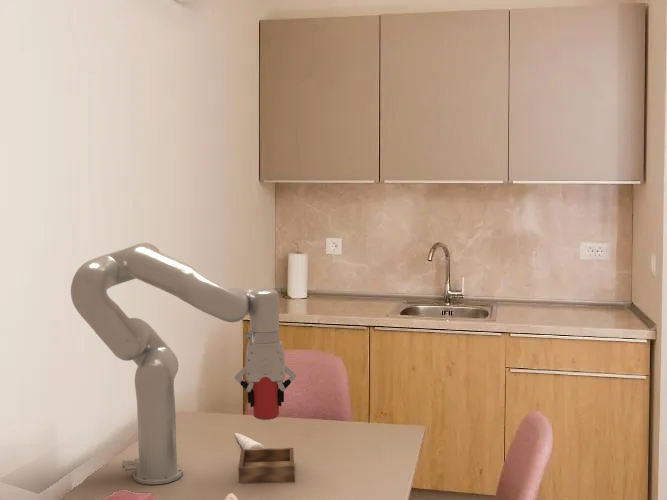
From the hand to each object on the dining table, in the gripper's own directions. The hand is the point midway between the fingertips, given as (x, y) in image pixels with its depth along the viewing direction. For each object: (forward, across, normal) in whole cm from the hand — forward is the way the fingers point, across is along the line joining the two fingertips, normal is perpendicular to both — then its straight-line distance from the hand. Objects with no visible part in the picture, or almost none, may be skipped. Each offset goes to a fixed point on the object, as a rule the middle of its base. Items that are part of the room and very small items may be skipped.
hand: (266, 404), depth 205 cm
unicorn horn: (+19, -6, +20) cm, 28 cm away
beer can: (+3, 0, 0) cm, 3 cm away
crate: (+18, 0, 0) cm, 18 cm away
